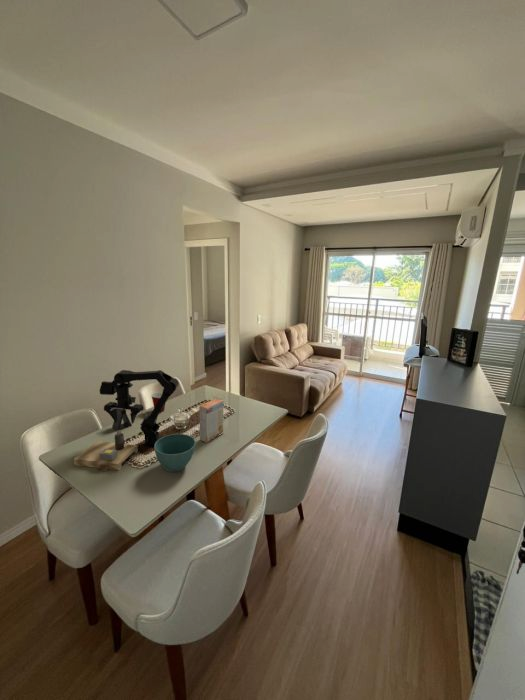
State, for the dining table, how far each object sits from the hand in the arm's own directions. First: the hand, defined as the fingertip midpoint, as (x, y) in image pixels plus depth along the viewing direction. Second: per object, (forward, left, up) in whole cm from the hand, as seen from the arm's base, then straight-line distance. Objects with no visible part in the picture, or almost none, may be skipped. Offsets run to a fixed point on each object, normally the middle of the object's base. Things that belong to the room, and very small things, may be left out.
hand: (124, 422), depth 150 cm
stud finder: (-3, +18, -9) cm, 20 cm away
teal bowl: (-34, +15, -12) cm, 39 cm away
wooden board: (+1, +14, -12) cm, 18 cm away
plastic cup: (+1, -42, -12) cm, 44 cm away
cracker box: (-43, -15, -12) cm, 47 cm away
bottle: (-3, +10, -9) cm, 13 cm away
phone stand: (+12, -16, -12) cm, 24 cm away
